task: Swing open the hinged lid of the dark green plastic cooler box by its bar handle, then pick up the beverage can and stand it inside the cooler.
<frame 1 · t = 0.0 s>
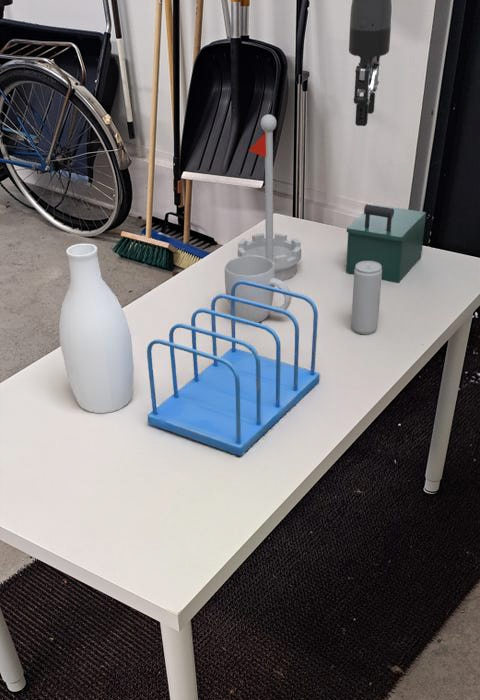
hand: (364, 119, 167), 26 cm above the table, tool pointing down, fingers open, 8 cm apart
bottle: (105, 400, 141), on the table
beverage can: (363, 330, 156), on the table
file sorter: (236, 404, 138), on the table
lid: (387, 211, 169), point 11 cm above the table, hinge at 0.0°
flag stand: (269, 271, 177), on the table
mug: (259, 318, 161), on the table
cooler: (383, 265, 177), on the table
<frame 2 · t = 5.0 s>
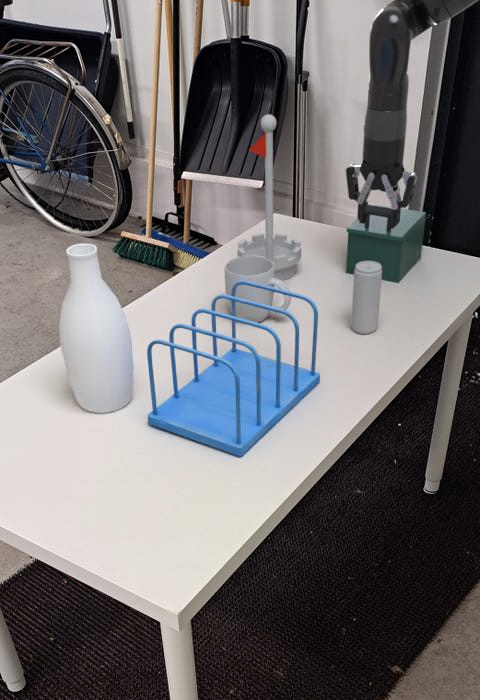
hand: (377, 224, 166), 11 cm above the table, tool pointing down, fingers closed on lid, 5 cm apart
lid: (387, 211, 169), point 11 cm above the table, hinge at 0.0°, touching gripper
everything else where it was.
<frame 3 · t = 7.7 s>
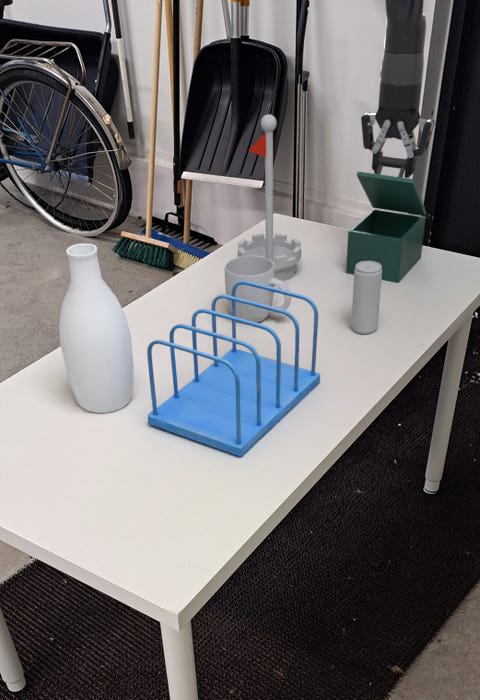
hand: (392, 174, 165), 18 cm above the table, tool pointing down, fingers closed on lid, 5 cm apart
lid: (395, 183, 169), point 16 cm above the table, hinge at 43.3°, touching gripper
everything else where it was.
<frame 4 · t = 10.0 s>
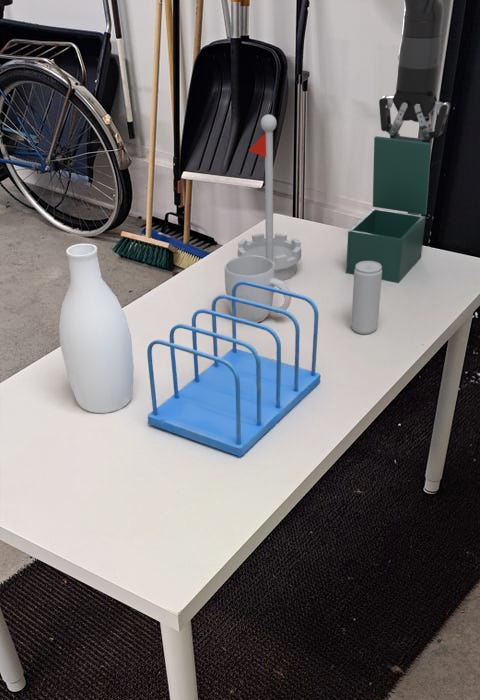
hand: (408, 156, 171), 19 cm above the table, tool pointing down, fingers closed on lid, 5 cm apart
lid: (404, 171, 171), point 16 cm above the table, hinge at 82.5°, touching gripper
everything else where it was.
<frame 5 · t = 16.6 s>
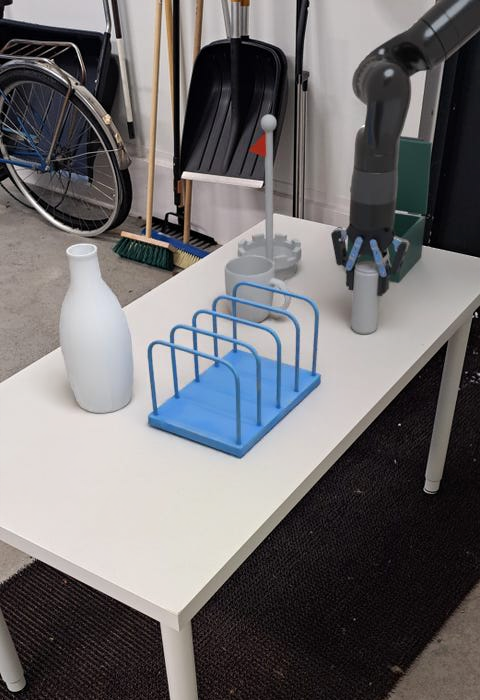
hand: (366, 291, 151), 7 cm above the table, tool pointing down, fingers closed on beverage can, 5 cm apart
beverage can: (363, 330, 156), on the table, touching gripper
lid: (404, 171, 171), point 16 cm above the table, hinge at 83.1°
everything else where it was.
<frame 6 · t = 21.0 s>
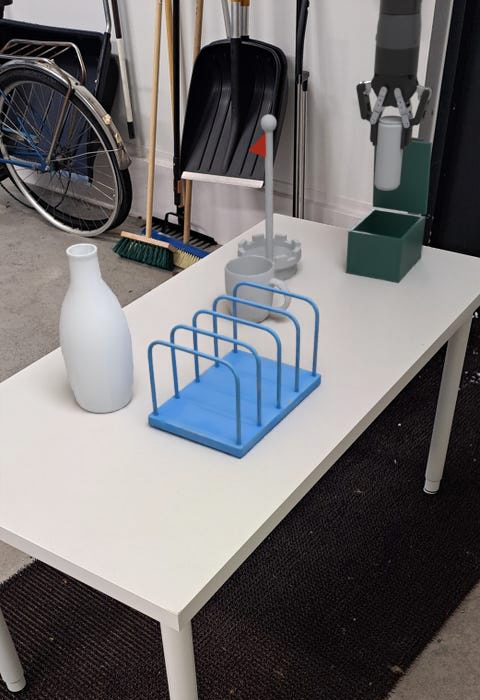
hand: (389, 146, 157), 25 cm above the table, tool pointing down, fingers closed on beverage can, 5 cm apart
beverage can: (386, 187, 162), point 17 cm above the table, touching gripper
everything else where it was.
when the fingers open (8 cm above the table, at t = 25.4 s): beverage can stays where it is, resting on cooler.
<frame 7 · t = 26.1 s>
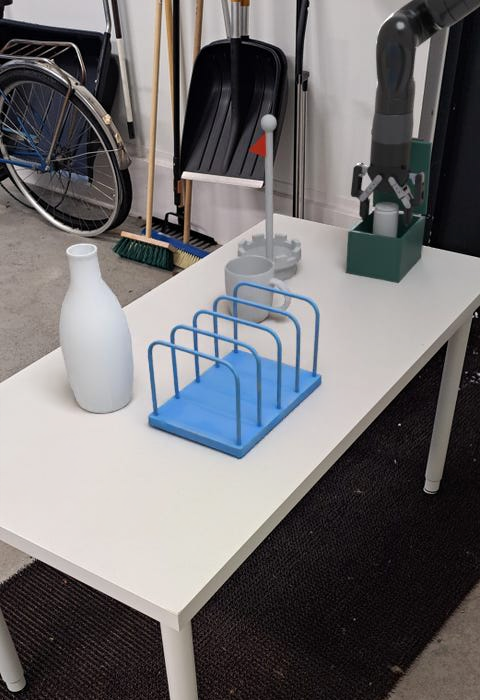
hand: (385, 222, 170), 9 cm above the table, tool pointing down, fingers open, 8 cm apart
beverage can: (382, 265, 175), point 1 cm above the table, touching cooler
everything else where it was.
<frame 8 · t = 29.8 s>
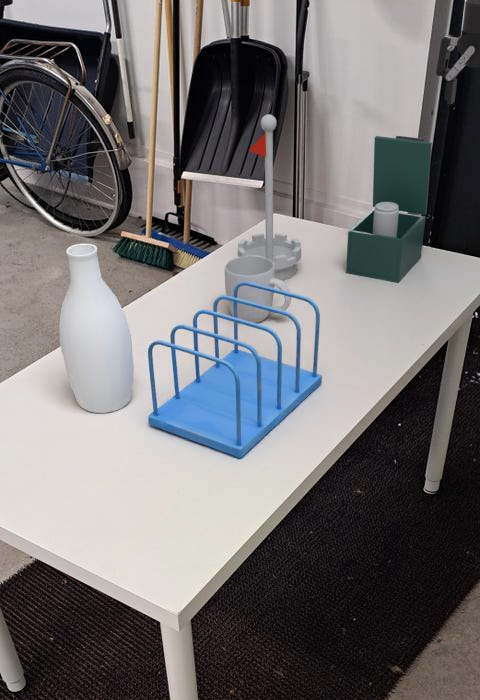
hand: (474, 105, 150), 32 cm above the table, tool pointing down, fingers open, 8 cm apart
nothing on the table moved.
at the end: lid at +83° (first picture: +0°); beverage can inside the target area in the cooler (1.5 cm from its centre), point 0.5 cm above the cooler's base; beverage can tilted 0° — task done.
